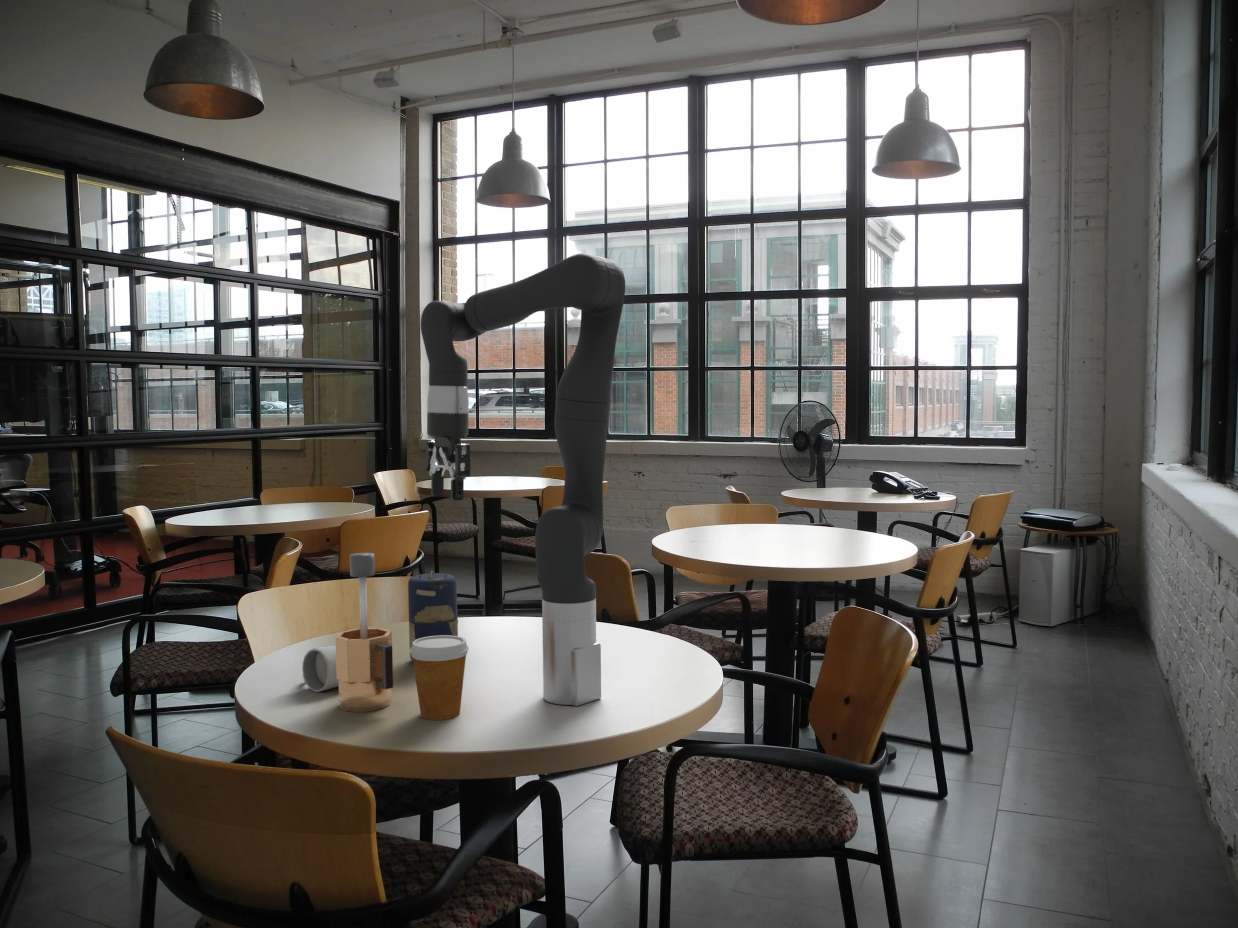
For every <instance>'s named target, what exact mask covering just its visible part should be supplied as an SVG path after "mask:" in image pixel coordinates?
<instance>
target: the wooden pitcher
mask: <svg viewBox="0 0 1238 928" xmlns="http://www.w3.org/2000/svg"><path fill="white" fill-rule="evenodd" d="M367 629H368V639H360V627H358V628H355V629H354V628H353V629H349V630H345V631H340V632H338V634H337V635H336V636H335V645H336V676H337V679H338V685H339V686H338V707H339V709H340V710H342V711H346V712H350V713H353V712H354V713H365V712H367V713H368V712H373V711H378V710H381V709H384V708H385V709H386V708H387V707H389V706H390V705H391V704H392V689H393V688H394V668H393V667H394V664H393V663H394V662H393V661H394V660H393V642H392V640H393V639H392V638H393V636H392V635H393V633H392V632H393V631H392V630H389V629H386V628H385V629H384V628H383V627H382V628H381V627H367Z"/></svg>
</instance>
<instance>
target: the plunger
mask: <svg viewBox="0 0 1238 928" xmlns="http://www.w3.org/2000/svg"><path fill="white" fill-rule="evenodd" d="M375 556H376V555H375V553H373V552H356V553H351V554H349V568H350V569H349V575H350V577H352V578H358V589H359V590H358V593H359V594H358V595H359V600H358V601H359V628H360V639H368V629H367V628H368V598H367V597H368V596H367V595H368V594H367V593H368V591H367V578H368V577H373V576H375V575H376V571H375V570H376V568H375V567H376V563H375Z"/></svg>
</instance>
